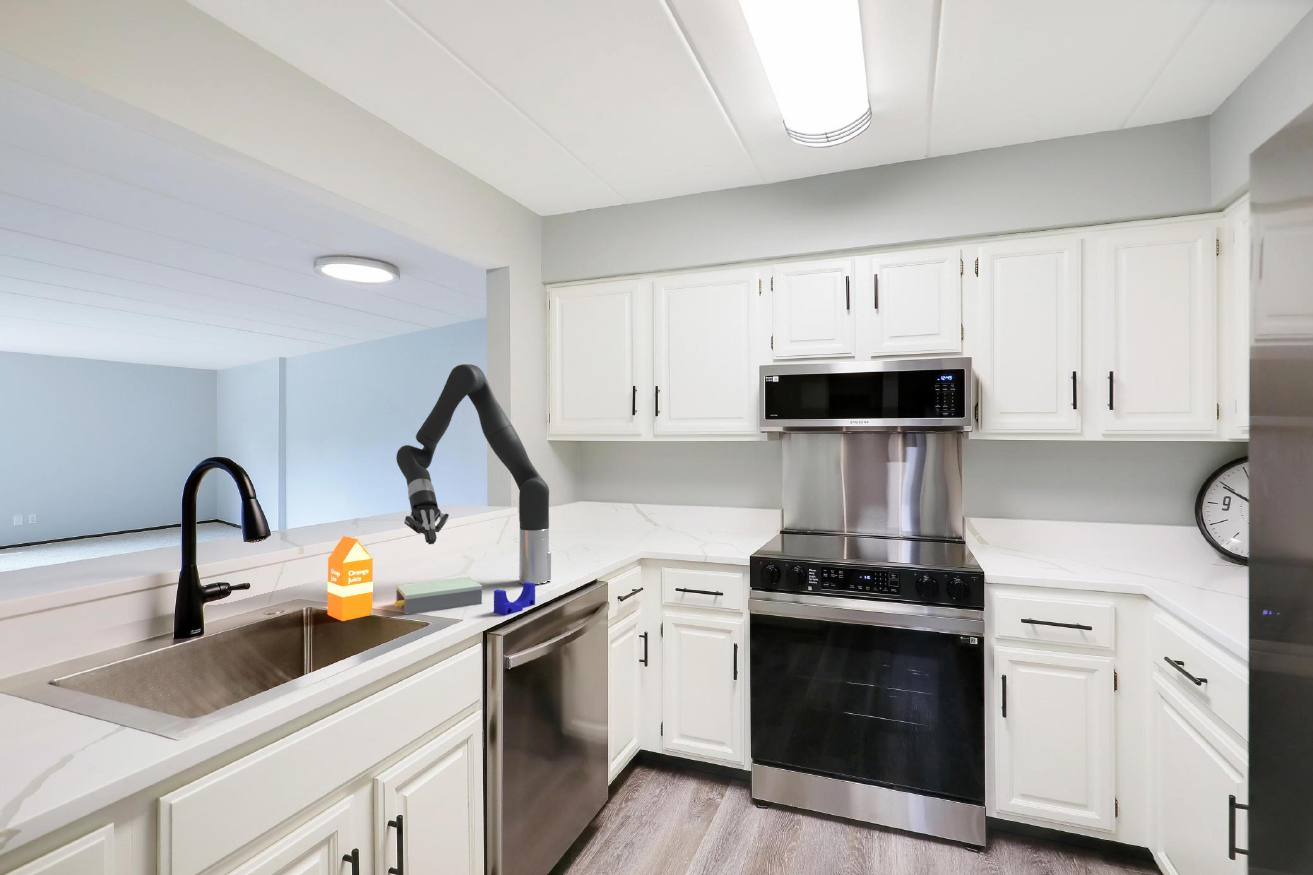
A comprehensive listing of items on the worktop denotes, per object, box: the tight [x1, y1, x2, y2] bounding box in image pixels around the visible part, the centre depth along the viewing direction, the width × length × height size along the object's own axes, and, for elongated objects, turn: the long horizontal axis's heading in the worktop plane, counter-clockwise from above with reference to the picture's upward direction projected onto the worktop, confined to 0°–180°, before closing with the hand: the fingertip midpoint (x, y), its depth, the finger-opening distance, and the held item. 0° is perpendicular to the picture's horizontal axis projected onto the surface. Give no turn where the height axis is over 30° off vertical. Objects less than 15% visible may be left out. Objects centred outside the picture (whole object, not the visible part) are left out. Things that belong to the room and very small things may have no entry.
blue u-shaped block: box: [493, 582, 536, 617], centre depth 161 cm, size 12×4×6 cm, turn 146°
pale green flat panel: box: [396, 576, 483, 599], centre depth 166 cm, size 20×12×1 cm, turn 124°
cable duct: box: [393, 588, 483, 614], centre depth 166 cm, size 23×12×4 cm, turn 124°
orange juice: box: [327, 535, 374, 622], centre depth 155 cm, size 8×9×20 cm
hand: (431, 542), depth 173 cm, fingers closed
